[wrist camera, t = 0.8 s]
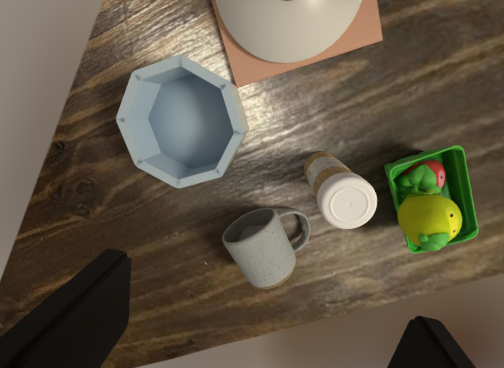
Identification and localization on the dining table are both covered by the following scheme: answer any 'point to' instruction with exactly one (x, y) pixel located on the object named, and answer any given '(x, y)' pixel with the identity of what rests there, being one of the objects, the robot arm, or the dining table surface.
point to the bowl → (181, 121)
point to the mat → (255, 69)
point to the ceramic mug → (264, 246)
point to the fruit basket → (433, 198)
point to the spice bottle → (339, 191)
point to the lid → (287, 26)
